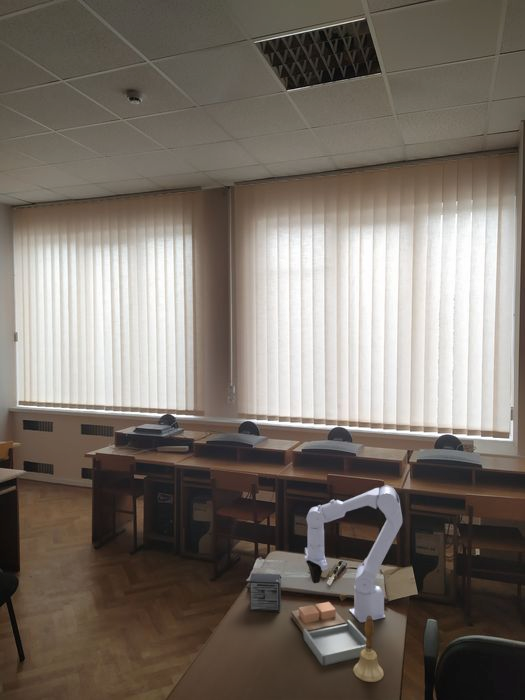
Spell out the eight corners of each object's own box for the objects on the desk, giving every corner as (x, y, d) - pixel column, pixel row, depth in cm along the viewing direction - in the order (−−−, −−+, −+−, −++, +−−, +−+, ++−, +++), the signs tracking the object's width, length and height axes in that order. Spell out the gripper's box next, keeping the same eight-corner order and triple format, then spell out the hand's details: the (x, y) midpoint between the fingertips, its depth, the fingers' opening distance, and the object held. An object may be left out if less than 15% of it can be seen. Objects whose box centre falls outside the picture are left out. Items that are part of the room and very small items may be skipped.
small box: (281, 602, 180) (281, 573, 179) (280, 612, 173) (280, 582, 173) (251, 601, 181) (251, 572, 180) (249, 611, 174) (249, 581, 174)
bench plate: (329, 609, 175) (329, 603, 175) (345, 628, 163) (345, 622, 163) (291, 616, 170) (291, 611, 170) (305, 637, 159) (305, 630, 159)
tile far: (312, 612, 169) (312, 604, 169) (319, 620, 165) (319, 612, 165) (298, 614, 168) (298, 607, 168) (304, 623, 163) (304, 615, 163)
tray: (349, 628, 163) (349, 619, 163) (372, 654, 150) (371, 644, 150) (303, 638, 158) (303, 629, 158) (322, 666, 145) (322, 655, 145)
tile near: (328, 609, 171) (328, 601, 171) (335, 616, 167) (335, 609, 166) (315, 611, 170) (315, 604, 170) (321, 619, 165) (321, 612, 165)
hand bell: (383, 664, 145) (383, 609, 145) (384, 684, 137) (384, 626, 137) (353, 661, 147) (353, 606, 147) (353, 680, 139) (352, 622, 138)
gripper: (297, 536, 180) (297, 574, 181) (314, 553, 167) (314, 594, 167) (315, 534, 183) (315, 571, 183) (333, 550, 169) (333, 590, 169)
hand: (315, 582), depth 175 cm, fingers closed
